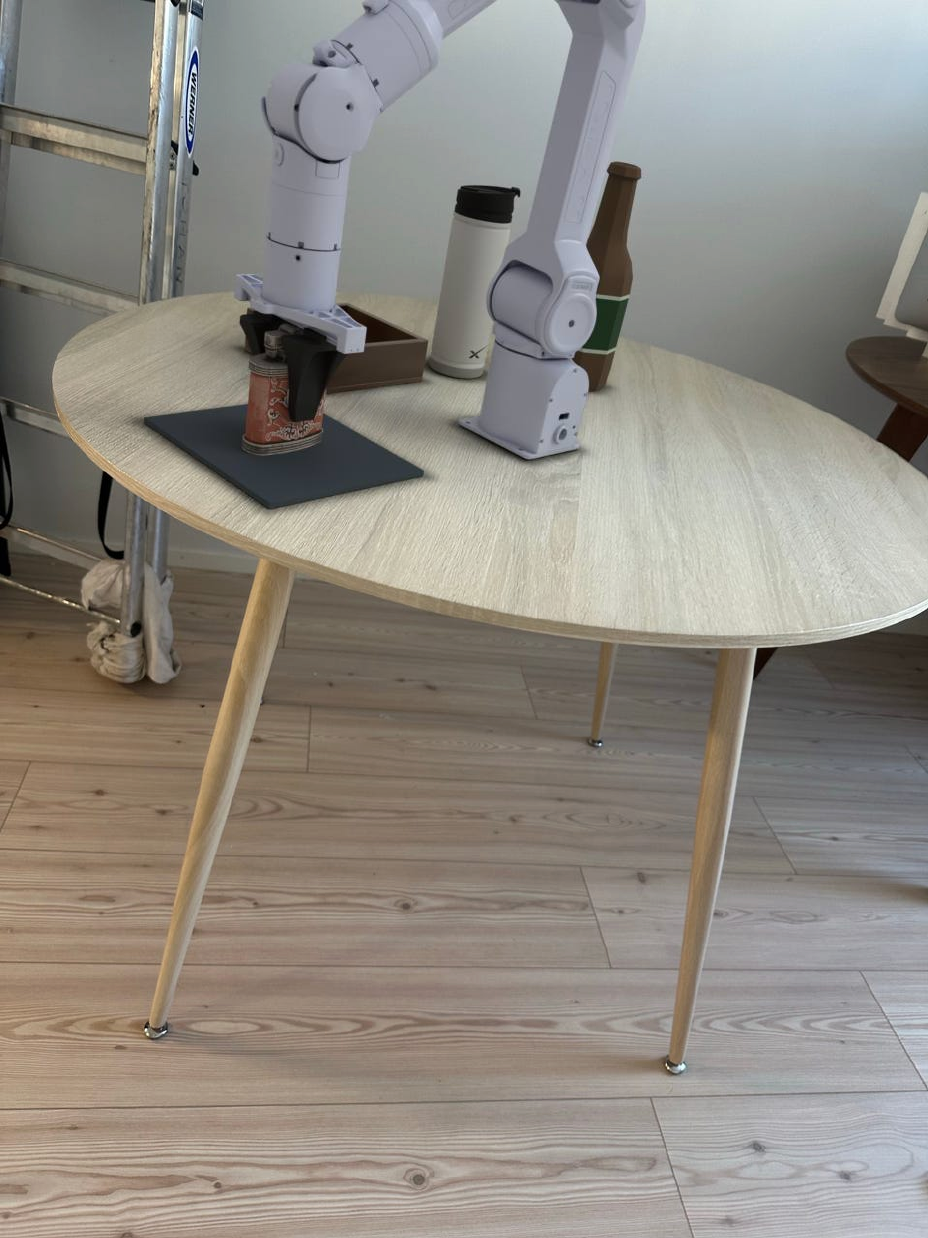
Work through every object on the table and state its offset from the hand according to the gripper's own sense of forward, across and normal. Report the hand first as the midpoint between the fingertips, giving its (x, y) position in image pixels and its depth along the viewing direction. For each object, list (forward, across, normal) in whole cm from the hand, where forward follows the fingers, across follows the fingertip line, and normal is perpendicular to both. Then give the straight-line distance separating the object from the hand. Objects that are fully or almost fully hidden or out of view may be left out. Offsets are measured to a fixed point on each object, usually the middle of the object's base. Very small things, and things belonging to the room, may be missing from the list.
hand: (287, 410), depth 82 cm
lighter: (+3, 0, 0) cm, 3 cm away
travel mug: (+4, -12, +33) cm, 35 cm away
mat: (+3, 0, 0) cm, 3 cm away
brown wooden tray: (+3, -17, +19) cm, 26 cm away
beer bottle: (+4, -5, +46) cm, 46 cm away
